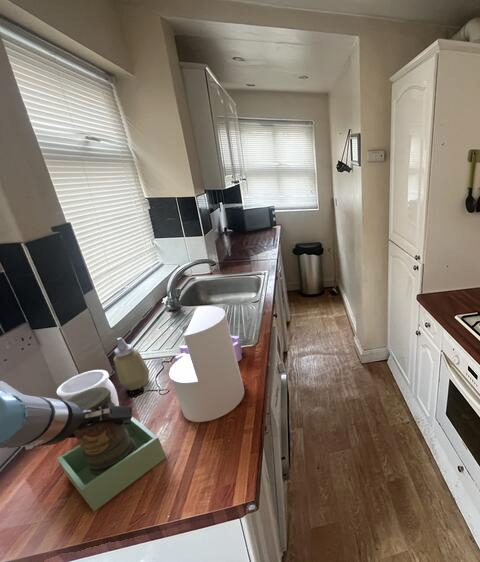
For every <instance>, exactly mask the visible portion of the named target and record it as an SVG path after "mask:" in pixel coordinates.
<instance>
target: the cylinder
mask: <svg viewBox="0 0 480 562" xmlns="http://www.w3.org/2000/svg"><path fill="white" fill-rule="evenodd" d="M229 325H230V324H229V321H228V318H227V314H226V311H225V309H224V308H222V307H220V306H214V305H202V306H196V309H195V310H194V313H193V315H192V317H191V320H190V322H189V324H188V326H187V328H186V330H185V332H184V334H183V338H184V342H185V344H186V345H187V348H188V351H189V354H187V355H185V356H183V357H182V358H180V359H179V360H178V361H175V362H174V364H172V366H171V367H170V368H169V371H168V375H169V378H170V381H171V384H172V387H173V389H174V392H175V394H176V398H177V401H178V404H179V406H180V409H181V412H182V415H183V417H184V418H185V419H186V420H187V421H191V422H194V423H203V422H204V423H205V422H209V421H213V420H216V419H220V418H221V417H223V416H225V415H227V414H228V413H230V412H231V411H233V410H234V409H235V408H237V406H238V405H239V404H240V403H241V402H242V400H243V399H244V396H245V388H244V387H245V386H244V382H243V379H242V375H241V371H240V367H239V361H238V362H237V358H236V354H235V350H234V346H233V342H232V338H231V336H232V334H231V330H230V326H229ZM186 345H185V346H186Z"/></svg>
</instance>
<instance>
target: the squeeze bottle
mask: <svg viewBox="0 0 480 562" xmlns="http://www.w3.org/2000/svg"><path fill="white" fill-rule="evenodd" d="M116 343H117V344H116V345H117V348H115V349H114V350H113V351H114V352H113V353H114V355H115V356H114V357H113V363H114V367H115V371H116V375H117V379H118V382H119V383H120V385H122V386H123V387H124V388H125V389H127V390H128V391H134V390H135V391H136V390H138V389H141V388H143V387H144V386H146V385H147V384H148V382H149V377H150V370H149V367H148V366H147V364H146V361H145V360H144V359H143V356H142V355H141V353H140V351H139V350H138V349H135V348H134V347H133V344H131V343H130V344H128V343H126V341H125V340H124V338H122V337H117V338H116Z"/></svg>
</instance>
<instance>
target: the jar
mask: <svg viewBox="0 0 480 562" xmlns="http://www.w3.org/2000/svg"><path fill="white" fill-rule="evenodd" d="M109 378H110V374H109V372H108V370H106V369H92V370H88V371H85V372H82V373H79V374H77V375H74V376H72V377H71V378H69V379H67V380H66V381H63V383H61V384H60V385H59V386H58V388H57V390H56V394H57V396H58V397H59V398H61V400H64V401H67V400H68V399H69V398H71V397H73V396H74V395H76V394H78V393H80V392H83V391H85V390H88V389H92V388H96V387H105V388H107V389H109V390H110V392H111V395H110V396H111V401H112V402H113V403H114V404H115V406H120V401H119V396H118V392H117V389H116V387H115V385H114V383H113V382H112V381H111V380H110V379H109Z"/></svg>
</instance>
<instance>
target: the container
mask: <svg viewBox="0 0 480 562" xmlns="http://www.w3.org/2000/svg"><path fill="white" fill-rule="evenodd" d="M110 395H111V392H110V390H109V389H107V388H105V387H96V388H92V389H88V390H85V391H83V392H80V393H78V394H76V395H74V396H73V397H71V398H69V399H68V400H67V401H70V402H73V403H75V404H76V405H77V406H78V407H79V408H80V409H83V410H89V409H95V410H96V411H99V408H100V407H101V406H103V405H106V404H107V405H111V406H115V404H114V403H113V402H112V401H111V396H110ZM86 425H87V424H86ZM74 435H75V437H76V438H75V439H76V441H77V443H78V444H79V445H80V446H81V447H82V449H83V453H84V456H85V457H86V458H87V465H88V467H89V471H90V472H91V473H92V474H94V475H97V476H99V475H101V474H102V473H104V472H105V471H107V470H108V469H109V468H111V467H112V466H114V465H115V464H117V463H118V462H120V461H121V460H123V459H124V458H125V457H127V456H128V455H130V454H131V453H133V452H134V451H136V443H135V442H134V441H133V439H132V438H131V437H129V435H128V431H127V430H126V429H125V428H124V426H123V424H122V425H118V424H115V422H114V423H106V424H99V425H95V426H93V427H91V428H88V429H81V430H78V431H75V432H74Z"/></svg>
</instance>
